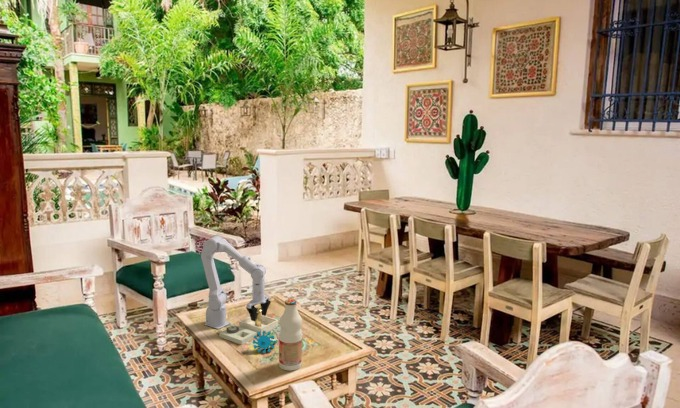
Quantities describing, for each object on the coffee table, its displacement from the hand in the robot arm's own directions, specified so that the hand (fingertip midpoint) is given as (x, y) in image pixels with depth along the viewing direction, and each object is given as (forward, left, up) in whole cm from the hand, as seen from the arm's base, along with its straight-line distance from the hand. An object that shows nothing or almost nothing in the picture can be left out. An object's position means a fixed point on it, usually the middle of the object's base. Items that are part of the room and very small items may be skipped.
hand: (258, 317), depth 226 cm
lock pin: (0, -1, -4) cm, 4 cm away
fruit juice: (+35, -20, -5) cm, 41 cm away
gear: (+18, -16, -5) cm, 24 cm away
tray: (0, 0, -5) cm, 5 cm away
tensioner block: (-1, -13, -5) cm, 14 cm away
